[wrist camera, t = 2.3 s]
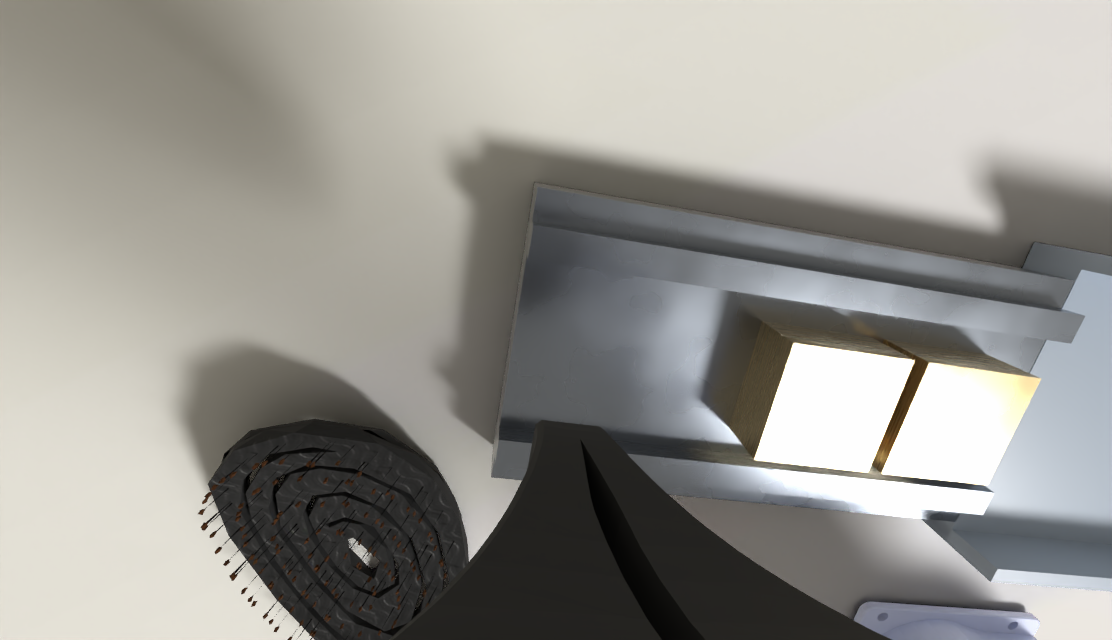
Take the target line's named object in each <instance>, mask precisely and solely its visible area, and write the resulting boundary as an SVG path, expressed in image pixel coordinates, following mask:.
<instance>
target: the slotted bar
mask: <svg viewBox="0 0 1112 640" xmlns="http://www.w3.org/2000/svg"><path fill="white" fill-rule="evenodd" d="M1074 282H1075V281H1074V280H1070V279H1065V278H1061V277H1057V276H1053V275H1049V274H1045V273H1040V272H1036V271H1032V270H1028V269H1024V268H1020V267H1014V266H1008V265H1002V264H997V263H991V262H985V261H980V260H974V259H968V258H963V257H957V256H951V255H946V254H940V253H934V252H929V251H923V250H917V249H912V248H906V247H900V246H895V245H889V244H883V243H877V242H872V241H866V240H860V239H855V238H849V237H843V236H838V235H832V234H826V233H821V232H815V231H809V230H804V229H798V228H792V227H787V226H781V225H775V224H769V223H764V222H758V221H752V220H747V219H741V218H735V217H730V216H724V215H718V214H713V213H707V212H701V211H696V210H690V209H684V208H679V207H673V206H667V205H661V204H656V203H650V202H644V201H639V200H633V199H627V198H622V197H616V196H610V195H605V194H599V193H593V192H588V191H582V190H576V189H571V188H565V187H559V186H554V185H548V184H542V183H536V182H534V189H533V195H532V201H531V208H530V214H529V220H528V227H527V233H526V239H525V246H524V252H523V258H522V265H521V271H520V277H519V284H518V290H517V296H516V303H515V309H514V315H513V322H512V328H511V335H510V341H509V347H508V354H507V360H506V366H505V373H504V379H503V385H502V392H501V398H500V404H499V411H498V417H497V423H496V430H495V436H494V442H493V454H492V473H491V477H494V478H505V479H515V480H523V478H524V476H525V474H526V471H527V468H528V463H529V457H530V452H531V446H532V441H533V435H534V430H535V424H537V423H538V422H540V421H541V420H547V421H556V422H565V423H574V424H583V425H592V426H600V427H601V428H602V429H603V430H604V431H605V432H606V433H607V434H608V435H609V436H610V437H611V438H612V439H613V440H614V441H615V442H616V443H617V444H618V445H619V446H620V447H621V448H622V449H623V450H624V451H625V452H626V453H627V454H628V455H629V456H630V458H631V459H632V460H633V461H634V462H635V463H636V464H637V465H638V466H639V467H640V468H641V469H642V470H643V471H644V472H645V473H646V474H647V475H648V476H649V477H650V478H651V479H652V480H653V481H654V482H655V483H656V484H657V485H658V486H660V487H661V488H662V489H663V490H664V491H665V492H666V493H667V494H670V495H681V496H691V497H701V498H712V499H722V500H733V501H743V502H753V503H764V504H774V505H784V506H795V507H805V508H815V509H826V510H836V511H846V512H857V513H867V514H877V515H888V516H898V517H909V518H919V519H929V520H940V521H950V522H955V521H956V519H957V517H958V515H959V513H969V514H979V515H983V514H984V512H985V510H986V508H987V506H988V504H989V503H990V501H991V499H992V497H993V495H994V492H993V491H991V490H990V489H989V488H987V487H986V486H984V485H981V484H972V483H963V482H954V481H944V480H935V479H926V478H917V477H907V476H898V475H889V474H881V473H880V472H879V471H878V470H877V469H876V468H875V467H874V466H872V465H871V466H870V469H869V471H868V472H861V471H852V470H843V469H834V468H825V467H815V466H806V465H797V464H788V463H779V462H769V461H760V460H754V459H753V458H752V456H751V455H750V454H749V452H748V451H747V450H746V449H745V447H744V446H743V445H742V443H741V442H740V441H739V440H738V438H737V437H736V436H735V434H734V433H733V432H732V431H731V429H730V428H729V425H730V422H731V419H732V416H733V413H734V409H735V406H736V403H737V400H738V397H739V393H740V390H741V387H742V384H743V381H744V378H745V374H746V371H747V368H748V365H749V362H750V358H751V355H752V352H753V349H754V346H755V343H756V339H757V336H758V333H759V330H760V327H761V323H762V321H765V322H772V323H778V324H785V325H792V326H799V327H805V328H812V329H819V330H826V331H832V332H839V333H846V334H853V335H859V336H866V337H872V338H874V339H876V340H877V341H879V342H881V343H883V342H884V339H886V340H893V341H900V342H907V343H913V344H920V345H927V346H934V347H940V348H947V349H954V350H961V351H968V352H974V353H981V354H987V355H989V356H991V357H994V358H996V359H998V360H1000V361H1003V362H1005V363H1007V364H1010V365H1012V366H1014V367H1016V368H1019V369H1021V370H1023V371H1025V372H1028V373H1029V372H1030V370H1031V368H1032V366H1033V364H1034V362H1035V360H1036V358H1037V356H1038V354H1039V352H1040V350H1041V348H1042V346H1043V344H1044V342H1045V340H1050V341H1057V342H1063V343H1070V344H1071V343H1072V341H1073V339H1074V337H1075V335H1076V333H1077V332H1078V330H1079V328H1080V326H1081V324H1082V322H1083V320H1084V318H1085V316H1084V315H1081V314H1078V313H1074V312H1071V311H1068V310H1064V309H1061V308H1062V306H1063V304H1064V302H1065V300H1066V298H1067V296H1068V294H1069V292H1070V290H1071V288H1072V286H1073V284H1074Z"/></svg>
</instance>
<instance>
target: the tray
mask: <svg viewBox="0 0 1112 640" xmlns="http://www.w3.org/2000/svg"><path fill="white" fill-rule="evenodd" d="M1022 268H1024V269H1028V270H1032V271H1036V272H1040V273H1045V274H1049V275H1053V276H1057V277H1061V278H1065V279H1070V280H1074V281H1075V282H1074V284H1073V286H1072V288H1071V290H1070V292H1069V294H1068V296H1067V298H1066V300H1065V302H1064V304H1063V306H1062V308H1061V309H1064V310H1068V311H1071V312H1074V313H1078V314H1081V315H1084V316H1085V318H1084V320H1083V322H1082V324H1081V326H1080V328H1079V330H1078V332H1077V333H1076V335H1075V337H1074V339H1073V341H1072V343H1071V344H1070V343H1063V342H1057V341H1050V340H1045V342H1044V344H1043V346H1042V348H1041V350H1040V352H1039V354H1038V356H1037V358H1036V360H1035V362H1034V364H1033V366H1032V368H1031V370H1030V372H1029V373H1030V374H1032V375H1035V376H1037V377H1039V378H1041V381H1040V383H1039V385H1038V387H1037V388H1036V390H1035V392H1034V394H1033V396H1032V398H1031V400H1030V402H1029V404H1028V406H1027V408H1026V410H1025V412H1024V414H1023V416H1022V418H1021V420H1020V422H1019V424H1018V426H1017V428H1016V430H1015V432H1014V434H1013V436H1012V438H1011V440H1010V442H1009V444H1008V446H1007V448H1006V450H1005V452H1004V454H1003V456H1002V458H1001V460H1000V461H999V463H998V465H997V467H996V469H995V471H994V473H993V475H992V477H991V479H990V481H989V483H988V485H984V486H986V487H987V488H989V489H990V490H991V491H993V492H994V495H993V497H992V499H991V501H990V503H989V504H988V506H987V508H986V510H985V512H984V514H983V515H979V514H969V513H959V515H958V517H957V519H956V521H955V522H950V521H940V520H929V519H922V520H923V521H924V522H925V523H926V524H927V525H929V526H930V527H931V528H932V529H933V530H934V531H935V532H936V533H937V534H938V535H940V536H941V537H942V538H943V539H944V540H945V541H946V542H947V543H948V544H949V545H951V546H952V547H953V548H954V549H955V550H956V551H957V552H958V553H959V554H960V555H962V556H963V557H964V558H965V559H966V560H967V561H968V562H969V563H970V564H971V565H973V566H974V567H975V568H976V569H977V570H978V571H979V572H980V573H981V574H982V575H984V576H985V577H986V578H987V579H988V580H989V581H990V582H997V583H1009V584H1022V585H1035V586H1047V587H1060V588H1072V589H1085V590H1098V591H1110V592H1112V256H1108V255H1103V254H1097V253H1092V252H1087V251H1081V250H1076V249H1070V248H1065V247H1059V246H1054V245H1049V244H1043V243H1038V242H1034V244H1033V246H1032V248H1031V250H1030V252H1029V254H1028V257H1027V259H1026V261H1025V263H1024V265H1023V267H1022Z"/></svg>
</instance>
